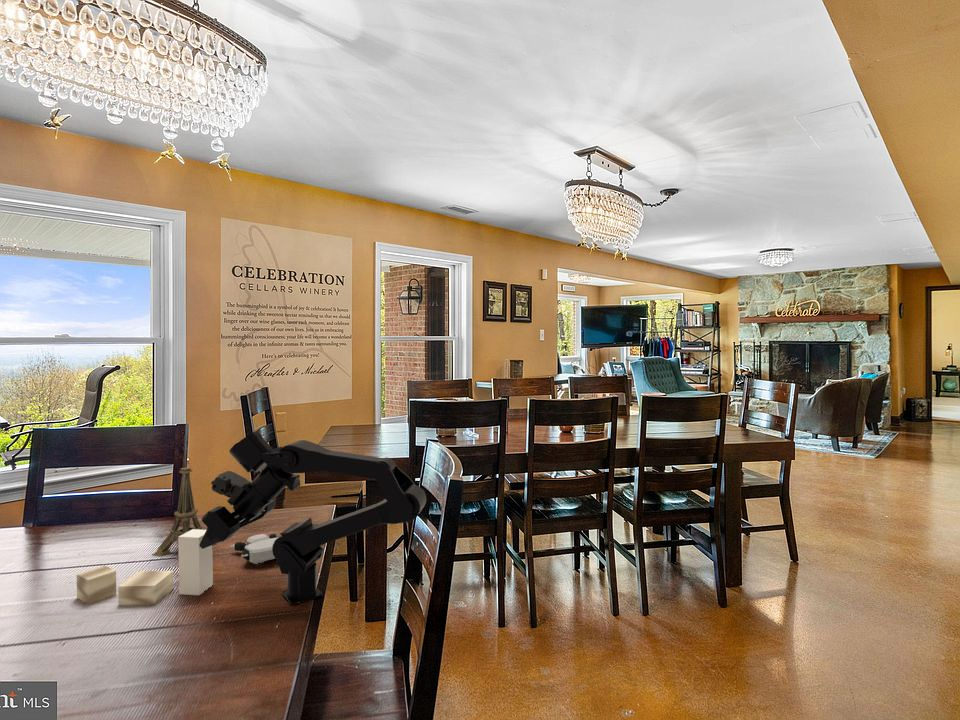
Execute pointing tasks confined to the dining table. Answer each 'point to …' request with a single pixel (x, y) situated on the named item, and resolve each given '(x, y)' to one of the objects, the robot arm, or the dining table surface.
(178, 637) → the dining table surface
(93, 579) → the cube
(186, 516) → the eiffel tower
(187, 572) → the pillar
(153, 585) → the tan glossy block
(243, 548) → the robot toy
